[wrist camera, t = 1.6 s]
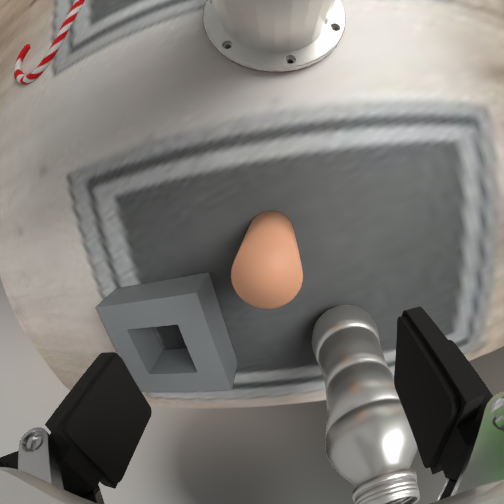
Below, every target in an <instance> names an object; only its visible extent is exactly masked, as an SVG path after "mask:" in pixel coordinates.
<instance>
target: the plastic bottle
mask: <svg viewBox="0 0 504 504" xmlns="http://www.w3.org/2000/svg"><path fill="white" fill-rule="evenodd" d="M312 349H313V352H314V355H315V357H316V360H317V362H318V364H319V366H320V368H321V371H322V375H323V378H324V382H325V386H326V398H327V426H326V454H327V457H328V459H329V460H330V463H331V465H332V466H333V467H334V468H335V469H336V470H337V471H338V472H339V473H340V474H341V475H342V476H343V477H344V478H345V479H347V480H348V481H350V482H351V483H352V484H354V485H355V486H356V488H355V489H354V490H353V492H352V497H353V501H354V502H355V504H415V503H416V502H417V501H418V500H419V499H420V494H419V490H418V486H417V482H416V481H417V476H416V473H415V471H414V470H411V469H410V468H409V467H410V465H411V463H412V460H413V458H414V456H415V454H416V451H417V448H418V447H417V444H416V441H415V439H414V436H413V433H412V430H411V428H410V425H409V422H408V420H407V417H406V414H405V412H404V409H403V407H402V404H401V402H400V399H399V397H398V394H397V392H396V389H395V385H394V377H393V375H392V373H391V371H390V370H389V367H388V366H387V364H386V361H385V358H384V355H383V352H382V349H381V346H380V341H379V334H378V331H377V327H376V325H375V322H374V321H373V319H372V318H371V317H370V316H369V315H368V314H367V313H366V312H365V311H364V310H363V309H361V308H359V307H357V306H354V305H339V306H336V307H333V308H331V309H329V310H327V311H326V312H325V313H323V314H322V315H321V316H320V317H319V319H318V320H317V322H316V323H315V326H314V328H313V335H312Z"/></svg>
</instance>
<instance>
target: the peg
mask: <svg viewBox="0 0 504 504" xmlns="http://www.w3.org/2000/svg"><path fill="white" fill-rule="evenodd" d="M231 280H232V284H233V287H234V289H235V291H236V293H237V294H238V295H239V296H240V298H242V299H243V300H244V301H245V302H247V303H248V304H250V305H252V306H255V307H259V308H265V309H270V308H276V307H280V306H283V305H285V304H286V303H288V302H289V301H291V300H292V299H293V298H294V297H295V296H296V295H297V293H298V292H299V290H300V288H301V285H302V280H303V272H302V266H301V261H300V256H299V252H298V247H297V242H296V238H295V233H294V229H293V225H292V223H291V221H290V220H289V218H288V217H287V216H285V215H284V214H282V213H280V212H278V211H265V212H262V213H260V214H258V215H257V216H256V217H255V218H254V219H253V220H252V222H251V223H250V226H249V228H248V230H247V233H246V235H245V237H244V240H243V242H242V244H241V247H240V249H239V251H238V253H237V256H236V258H235V260H234V263H233V265H232V270H231Z"/></svg>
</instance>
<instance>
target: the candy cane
mask: <svg viewBox="0 0 504 504" xmlns="http://www.w3.org/2000/svg"><path fill="white" fill-rule="evenodd" d="M83 2H84V0H75V2H74V4H73V6H72V8H71V10H70V12H69V13H68V15H67V17H66V19H65V21H64V23H63V25H62V27H61V28H60V30H59V32H58V34H57V36H56V38H55V40H54V42H53V44H52V45H51V47H50V49H49V51H48V52H47V54H46V56H45V57H44V59H43V60H42V62H41V63H40V64H39V66H38V67H37V68H36V69H35V70H34V71H33V72H32V73H30V74H28V75H24V74H23V73H22V61H23V59H24V57H25V55H26V53H27V52H28V51H29V49H30V45H29V44H27V45H26V46H25V47H24V48H23V49H22V51H21V52H20V54H19V56H18V58H17V60H16V63H15V68H14V76H15V79H16V81H17V82H18V83H20V84H28V83H31V82H33V81H34V80H35V79H36V78H38V77H39V76H40V75H41V73H42V72H43V71H44V70H45V69H46V67H47V66H48V65H49V63H50V62H51V60H52V59H53V57H54V56H55V54H56V52H57V51H58V49H59V47H60V45H61V44H62V42H63V40H64V38H65V36H66V34H67V32H68V30H69V28H70V27H71V25H72V23H73V21H74V19H75V17H76V15H77V13H78V12H79V10H80V8H81V6H82V4H83Z"/></svg>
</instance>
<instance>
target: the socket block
mask: <svg viewBox="0 0 504 504" xmlns="http://www.w3.org/2000/svg"><path fill="white" fill-rule="evenodd" d="M96 310H97V312H98V314H99V316H100V319H101V321H102V323H103V325H104V327H105V329H106V332H107V334H108V336H109V338H110V340H111V342H112V344H113V346H114V348H115V350H116V352H117V354H118V355H119V356H120V357H121V358H122V359H123V361H124V363H125V364H126V366H127V368H128V370H129V372H130V374H131V375H132V377H133V379H134V381H135V382H136V384H137V386H138V387H139V389H140V391H141V392H209V391H226V390H232V388H233V383H234V378H235V373H236V368H237V364H238V362H237V359H236V356H235V353H234V350H233V347H232V344H231V341H230V338H229V335H228V332H227V329H226V325H225V322H224V319H223V316H222V313H221V310H220V307H219V303H218V300H217V297H216V294H215V290H214V287H213V284H212V280H211V277H210V274H209V272H207V273H201V274H196V275H190V276H185V277H179V278H174V279H168V280H163V281H157V282H151V283H146V284H140V285H134V286H129V287H123V288H117V289H116V290H114V291H113V292H112V293H111V294H110V295H109V296H108V297H107V298H105V299H104V300H103V301H102V302H101V303H100V304H99V305H98V306H97V307H96ZM169 325H178V326H179V329H180V332H181V334H182V337H183V339H184V341H185V344H186V346H187V348H179V349H165V350H163V349H162V347H161V344H160V342H159V340H158V338H157V335H156V333H155V331H154V329H153V327H159V326H169Z"/></svg>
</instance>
